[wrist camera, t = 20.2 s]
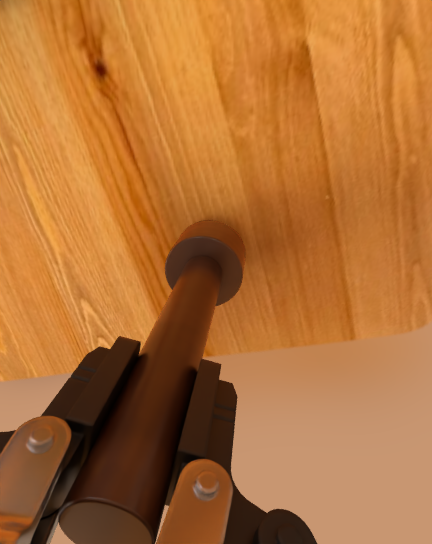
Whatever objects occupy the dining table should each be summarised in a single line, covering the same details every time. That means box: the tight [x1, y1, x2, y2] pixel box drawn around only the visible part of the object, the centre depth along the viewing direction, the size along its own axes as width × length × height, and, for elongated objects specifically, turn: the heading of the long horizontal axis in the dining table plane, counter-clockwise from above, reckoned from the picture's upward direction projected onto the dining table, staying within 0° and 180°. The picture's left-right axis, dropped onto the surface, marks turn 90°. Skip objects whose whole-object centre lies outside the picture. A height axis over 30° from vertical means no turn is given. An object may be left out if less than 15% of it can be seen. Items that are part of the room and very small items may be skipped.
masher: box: [58, 220, 245, 544], centre depth 15 cm, size 4×4×16 cm
